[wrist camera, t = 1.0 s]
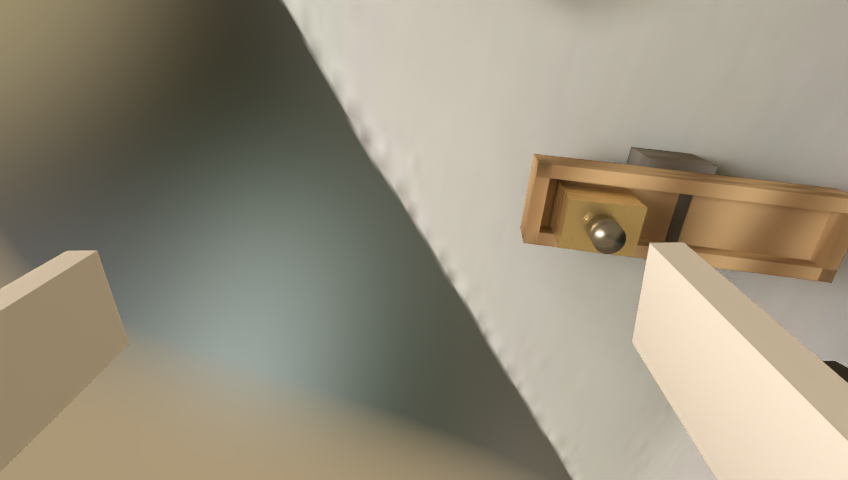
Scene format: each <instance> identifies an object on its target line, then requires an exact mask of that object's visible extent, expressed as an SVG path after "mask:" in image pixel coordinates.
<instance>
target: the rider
mask: <svg viewBox="0 0 848 480" xmlns="http://www.w3.org/2000/svg"><path fill="white" fill-rule="evenodd" d="M647 209H648V208H647V207H646V206H645V205H644V204H642V203H641V202H640V201H639V200H638V199H637V198H636V197H635V196H634V195H633V194H632V193H631V192H630V191H629V190H627V189H626V188H622V187H613V186H605V185H596V184H588V183H580V182H571V181H563V180H558V184H557V188H556V193H555V198H554V203H553V208H552V213H551V217H550V222H549V224H550V226H551V229H552V232H553V234H554V237H555V239H556V242H557V244H558V247H559V248H565V249H573V250H581V251H589V252H596V253H603V254H612V255H620V256H627V257H634V254H635V250H636V247H637V243H638V240H639V236H640V233H641V229H642V226H643V223H644V219H645V216H646V212H647Z"/></svg>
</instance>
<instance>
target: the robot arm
mask: <svg viewBox="0 0 848 480" xmlns="http://www.w3.org/2000/svg"><path fill="white" fill-rule="evenodd" d="M632 343H633V345H634V346H635V348H636V349H637V351H638V353H639V354H640V356H641V358H642V359H643V361H644V362H645V364H646V366H647V367H648V369H649V371H650V372H651V374H652V375H653V377H654V379H655V380H656V382H657V383H658V385H659V387H660V388H661V390H662V392H663V393H664V395H665V396H666V398H667V400H668V401H669V403H670V404H671V406H672V408H673V409H674V411H675V413H676V414H677V416H678V417H679V419H680V421H681V422H682V424H683V426H684V427H685V429H686V430H687V432H688V434H689V435H690V437H691V438H692V440H693V442H694V443H695V445H696V447H697V448H698V450H699V451H700V453H701V455H702V456H703V458H704V460H705V461H706V463H707V464H708V466H709V468H710V469H711V471H712V472H713V474H714V476H715V477H716V479H717V480H848V368H847V367H845V366H843V365H841V364H839V363H838V362H836V361H822V360H820V359H819V358H818V357H817V356H816V355H815V354H813V353H812V352H811V351H810V350H809V349H808V348H806V347H805V346H804V345H803V344H802V343H801V342H799V341H798V340H797V339H796V338H795V337H794V336H792V335H791V334H790V333H789V332H788V331H787V330H785V329H784V328H783V327H782V326H781V325H780V324H778V323H777V322H776V321H775V320H774V319H773V318H771V317H770V316H769V315H768V314H767V313H766V312H764V311H763V310H762V309H761V308H760V307H759V306H757V305H756V304H755V303H754V302H753V301H752V300H750V299H749V298H748V297H747V296H746V295H745V294H743V293H742V292H741V291H740V290H739V289H738V288H736V287H735V286H734V285H733V284H732V283H731V282H729V281H728V280H727V279H726V278H725V277H724V276H722V275H721V274H720V273H719V272H718V271H717V270H715V269H714V268H713V267H712V266H711V265H710V264H708V263H707V262H706V261H705V260H704V259H703V258H701V257H700V256H699V255H698V254H697V253H696V252H695V251H693V250H692V249H691V248H690V247H689V246H688V245H686V244H685V243H684V242H672V243H650V244H649V249H648V255H647V261H646V266H645V272H644V278H643V283H642V289H641V295H640V300H639V306H638V312H637V317H636V323H635V329H634V334H633V340H632ZM128 345H129V342H128V339H127V336H126V334H125V331H124V328H123V325H122V322H121V319H120V316H119V313H118V310H117V307H116V305H115V302H114V299H113V296H112V293H111V290H110V287H109V284H108V281H107V278H106V276H105V272H104V270H103V267H102V264H101V261H100V258H99V255H98V252H97V251H66V252H64V253H62V254H60V255H59V256H57V257H55V258H54V259H52V260H50V261H48V262H46V263H45V264H43V265H41V266H39V267H38V268H36V269H34V270H33V271H31V272H29V273H27V274H26V275H24V276H22V277H20V278H19V279H17V280H15V281H13V282H12V283H10V284H8V285H6V286H5V287H3V288H1V289H0V472H1V471H2V470H3V469H4V468H5V467H6V466H7V465H8V464H9V463H10V461H12V460H13V459H14V458H15V457H16V456H17V455H18V454H19V453H20V452H21V451H22V450H23V449H24V448H25V447H26V446H27V445H28V444H29V443H30V442H31V441H32V440H33V439H34V438H35V437H36V436H37V435H38V434H39V433H40V432H41V431H42V430H43V429H44V428H45V427H46V426H47V425H48V424H49V423H50V422H51V421H52V420H53V419H54V418H55V417H56V416H57V415H58V414H59V413H60V412H61V411H62V410H63V409H64V408H66V406H68V405H69V403H71V402H72V401H73V400H74V399H75V398H76V397H77V396H78V395H79V393H80V392H81V391H83V390H84V389H85V388H86V387H87V386H88V385H89V384H90V383H91V382H92V381H93V380H94V379H95V378H96V377H97V376H98V375H99V374H100V373H101V372H102V371H103V370H104V369H105V368H106V367H107V366H108V365H109V364H110V363H111V362H112V361H113V360H114V359H115V358H116V357H117V356H118V355H119V354H120V353H121V352H122V351H123V350H124V349H125V348H126V347H127V346H128Z"/></svg>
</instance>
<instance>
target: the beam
mask: <svg viewBox="0 0 848 480" xmlns="http://www.w3.org/2000/svg"><path fill="white" fill-rule="evenodd" d="M716 170H717V166H715V165H713V164H711V163H709V162H707V161H705V160H703V159H700V158H698V157H696V156H694V155H692V154H688V153H679V152H670V151H661V150H652V149H643V148H634V147H631V150H630V153H629V157H628V161H627V165H626V164H618V163H609V162H600V161H592V160H583V159H574V158H566V157H557V156H548V155H540V154H534V156H533V162H532V167H531V172H530V178H529V183H528V189H527V194H526V200H525V205H524V211H523V216H522V222H521V227H520V228H521V233H522V238H523V243H528V244H536V245H544V246H552V247H558V244H557V242H556V239H555V237H554V234H553V232H552V229H551V226H550V224H549V222H550V217H551V213H552V208H553V203H554V198H555V193H556V188H557V184H558V180H563V181H571V182H580V183H588V184H596V185H605V186H613V187H622V188H626V189H627V190H629V191H630V192H631V193H632V194H633V195H634V196H635V197H636V198H637V199H638V200H639V201H640V202H641V203H642V204H644V205H645V206H646V207H647V208H648V209H647V212H646V216H645V219H644V223H643V226H642V229H641V233H640V236H639V240H638V243H637V247H636V250H635V254H634V257H637V258H644V259H647V255H648V249H649V244H650V243H672V242H684V243H685V244H686V245H688V246H689V247H690V248H691V249H692V250H693V251H695V252H696V253H697V254H698V255H699V256H700V257H701V258H703V259H704V260H705V261H706V262H707V263H708V264H710V265H711V266H712V267H714V268H721V269H729V270H737V271H745V272H752V273H760V274H768V275H776V276H783V277H791V278H799V279H806V280H814V281H822V282H830V283H832V281H833V279H834V277H835V274H836V272H837V270H838V268H839V266H840V264H841V262H842V260H843V258H844V255H845V253H846V251H847V249H848V193H846V192H843V191H841V190H838V189H835V188H826V187H817V186H809V185H800V184H791V183H783V182H774V181H765V180H757V179H748V178H739V177H731V176H722V175H715V173H716Z"/></svg>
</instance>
